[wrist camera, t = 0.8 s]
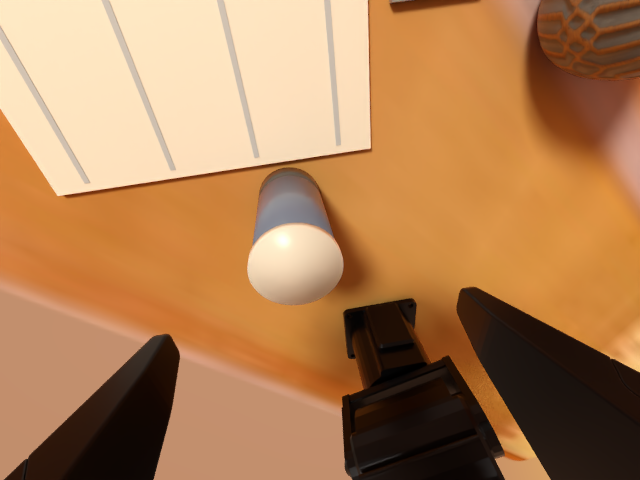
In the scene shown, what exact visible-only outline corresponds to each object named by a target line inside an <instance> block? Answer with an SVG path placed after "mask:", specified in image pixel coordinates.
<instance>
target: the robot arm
mask: <svg viewBox="0 0 640 480" xmlns="http://www.w3.org/2000/svg"><path fill="white" fill-rule="evenodd" d="M409 304H410V305H409ZM457 314H458V316H459V318H460V320H461V323H462V325H463V327H464V329H465V331H466V333H467V335H468V338H469V340H470V342H471V344H472V346H473V348H474V350H475V352H476V354H477V356H478V358H479V360H480V362H481V364H482V366H483V367H484V369H485V371H486V372H487V374H488V376H489V377H490V379H491V381H492V382H493V384H494V386H495V387H496V389H497V391H498V392H499V394H500V396H501V397H502V399H503V401H504V402H505V404H506V406H507V407H508V409H509V411H510V412H511V414H512V416H513V417H514V419H515V421H516V422H517V424H518V426H519V427H520V429H521V431H522V432H523V434H524V436H525V437H526V439H527V441H528V442H529V444H530V446H531V447H532V449H533V451H534V452H535V454H536V456H537V457H538V459H539V460H540V462H541V464H542V466H543V467H544V469H545V471H546V472H547V474H548V476H549V477H550V479H551V480H640V372H638V371H636V370H634V369H632V368H630V367H628V366H626V365H624V364H622V363H620V362H618V361H616V360H615V359H610V357H609V356H607V355H605V354H603V353H601V352H599V351H597V350H595V349H593V348H591V347H590V346H588V345H586V344H584V343H582V342H580V341H578V340H576V339H574V338H572V337H570V336H569V335H567V334H565V333H563V332H561V331H559V330H557V329H555V328H553V327H551V326H549V325H547V324H546V323H544V322H542V321H540V320H538V319H536V318H534V317H532V316H530V315H528V314H526V313H525V312H523V311H521V310H519V309H517V308H515V307H513V306H511V305H509V304H507V303H505V302H504V301H502V300H500V299H498V298H496V297H494V296H492V295H490V294H488V293H486V292H484V291H482V290H481V289H479V288H477V287H467V288H462V289H461V290H460V293H459V298H458V303H457ZM415 315H416V302H415V301H414V299H404V300H399V301H393V302H387V303H382V304H376V305H370V306H365V307H359V308H353V309H348V310H346V311H344V313H343V317H344V327H345V337H346V346H347V354H348V358H350V359H355V358H356V361H357V365H358V369H359V373H360V376H361V380H362V384H363V388H364V390H362V391H359V392H357V393H354V394H351V395H349V394H348V395H345V396H343V397H342V402H343V407H342V420H343V439H344V457H345V470H346V473H347V474H348V475H349V476H350V477H351V478H352V480H505V479H504V477H503V475H502V473H501V471H500V469H499V467H498V465H497V463H496V461H495V458H499V457H502V456H505V454H504V451H503V448H502V446H501V444H500V442H499V440H498V438H497V436H496V434H495V432H494V430H493V428H492V426H491V424H490V422H489V420H488V419H487V417H486V415H485V413H484V411H483V410H482V408H481V406H480V405H479V403H478V401H477V400H476V398H475V396H474V395H473V393H472V392H471V390H470V389H469V387H468V385H467V384H466V382H465V381H464V379H463V377H462V376H461V374H460V373H459V371H458V370H457V368H456V366H455V365H454V363H453V362H452V360H451V359H450V357H449V355H448V356H445V357H443V358H442V359H441V360H439V361H436V362H434V363H431V362H430V360H429V358H428V356H427V354H426V352H425V350H424V348H423V347H422V345H421V343H420V341H419V339H418V337H417V335H416V333H415V331H414V326H415ZM179 360H180V354H179V350H178V348H177V347H176V345H175V343H174V341H173V339H172V337H171V336H170V335H169V334H162V335H156V336H154V337H152V338H151V339H150V340H149V341H148V342H147V343H146V344H145V345H144V346H143V347H142V348H141V349H140V350H139V351H137V352H136V353H135V354H134V355H133V356H132V357H131V358H130V359H129V360H128V361H127V362H126V363H125V364H124V365H123V366H122V367H121V368H120V369H119V370H118V371H117V372H116V373H115V374H114V375H113V376H112V377H110V378H109V379H108V380H107V381H106V382H105V383H104V384H103V385H102V386H101V387H100V388H99V389H98V390H97V391H96V392H95V393H94V394H93V395H92V396H91V397H90V398H89V399H88V400H87V401H86V402H84V403H83V404H82V405H81V406H80V407H79V408H78V409H77V410H76V411H75V412H74V413H73V414H72V415H71V416H70V417H69V418H68V419H67V420H66V421H65V422H64V423H63V424H62V425H61V426H60V427H58V428H57V429H56V430H55V431H54V432H53V433H52V434H51V435H50V436H49V437H48V438H47V439H46V440H45V441H44V442H43V443H42V444H41V445H40V446H39V447H38V448H37V449H36V450H34V451H33V452H32V453H31V455H30V456H29V458H28V459H25V460H24V461H23V462H22V463H21V464H20V465H19V466H18V467H17V468H16V469H15V470H14V471H13V472H12V473H11V474H9V475H8V476H7V477H6V478H5V479H4V480H153V479H154V476H155V472H156V468H157V464H158V460H159V457H160V452H161V449H162V445H163V442H164V437H165V434H166V430H167V426H168V422H169V418H170V414H171V410H172V405H173V399H174V393H175V386H176V379H177V373H178V367H179Z"/></svg>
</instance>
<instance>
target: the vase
mask: <svg viewBox="0 0 640 480" xmlns="http://www.w3.org/2000/svg"><path fill="white" fill-rule="evenodd" d="M537 31H538V37H539V41H540V45H541V48H542V50H543V52H544V54H545V55H546V56H547V57H548V59H549V60H550V61H551V62H552V63H553V64H555V65H556V66H557V67H559V68H560V69H562V70H564V71H566V72H568V73H570V74H573V75H575V76H578V77H583V78H588V79H595V80H609V81H619V80H629V79H636V78H640V0H541V3H540V7H539V12H538V20H537Z"/></svg>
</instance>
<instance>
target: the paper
mask: <svg viewBox="0 0 640 480" xmlns="http://www.w3.org/2000/svg"><path fill="white" fill-rule="evenodd" d="M0 109H1V110H2V112H3V113H4V115H5V116H6V118H7V119H8V121H9V122H10V124H11V125H12V127H13V128H14V130H15V132H16V133H17V135H18V136H19V138H20V139H21V141H22V142H23V144H24V145H25V147H26V148H27V150H28V151H29V153H30V154H31V156H32V157H33V159H34V161H35V162H36V164H37V165H38V167H39V168H40V170H41V171H42V173H43V174H44V176H45V177H46V179H47V180H48V182H49V183H50V185H51V186H52V188H53V190H54V191H55V193H56V194H57V196H61V195H68V194H75V193H81V192H88V191H94V190H101V189H107V188H114V187H121V186H127V185H134V184H140V183H147V182H153V181H160V180H166V179H173V178H180V177H186V176H193V175H199V174H206V173H212V172H219V171H225V170H232V169H239V168H245V167H252V166H258V165H265V164H271V163H278V162H285V161H291V160H298V159H304V158H311V157H317V156H324V155H330V154H337V153H344V152H350V151H357V150H363V149H370V148H371V138H370V88H369V38H368V0H0Z"/></svg>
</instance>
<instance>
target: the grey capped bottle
mask: <svg viewBox="0 0 640 480" xmlns="http://www.w3.org/2000/svg"><path fill="white" fill-rule="evenodd" d="M343 267H344V262H343V257H342V254H341V251H340V248H339V245H338V243H337V242H336V240H335V239H334V236H333V233H332V230H331V226H330V223H329V220H328V217H327V214H326V211H325V207H324V204H323V201H322V198H321V195H320V192H319V188H318V186H317V183H316V182H315V180H314V179H313V178H312V177H311V176H310V175H309V174H308V173H306V172H305V171H303V170H300V169H297V168H282V169H278V170H276V171H274V172H272V173H271V174H269V175H268V176H267V177H266V179H265V180H264V181H263V183H262V185H261V188H260V193H259V201H258V208H257V216H256V224H255V231H254V239H253V246H252V249H251V251H250V254H249V259H248V267H247V269H248V277H249V280H250V282H251V284H252V286H253V287H254V288H255V290H256V291H257V292H258V293H259V294H260V295H262V296H263V297H265V298H266V299H268V300H270V301H273V302H276V303H279V304H284V305H302V304H307V303H311V302H314V301H316V300H318V299H321V298H322V297H324V296H326V295H327V294H328V293H330V292H331V291H332V290H333V289H334V288H335V286H336V285H337V284H338V282H339V280H340V278H341V276H342V273H343Z"/></svg>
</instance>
